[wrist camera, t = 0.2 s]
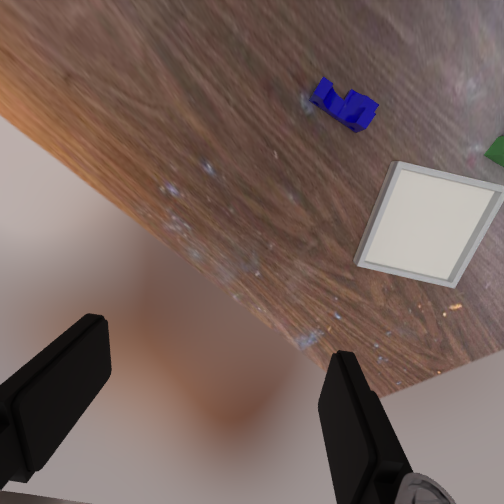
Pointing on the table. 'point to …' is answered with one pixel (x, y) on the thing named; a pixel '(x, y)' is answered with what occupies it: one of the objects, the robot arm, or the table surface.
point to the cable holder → (345, 106)
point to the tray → (427, 223)
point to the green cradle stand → (497, 151)
